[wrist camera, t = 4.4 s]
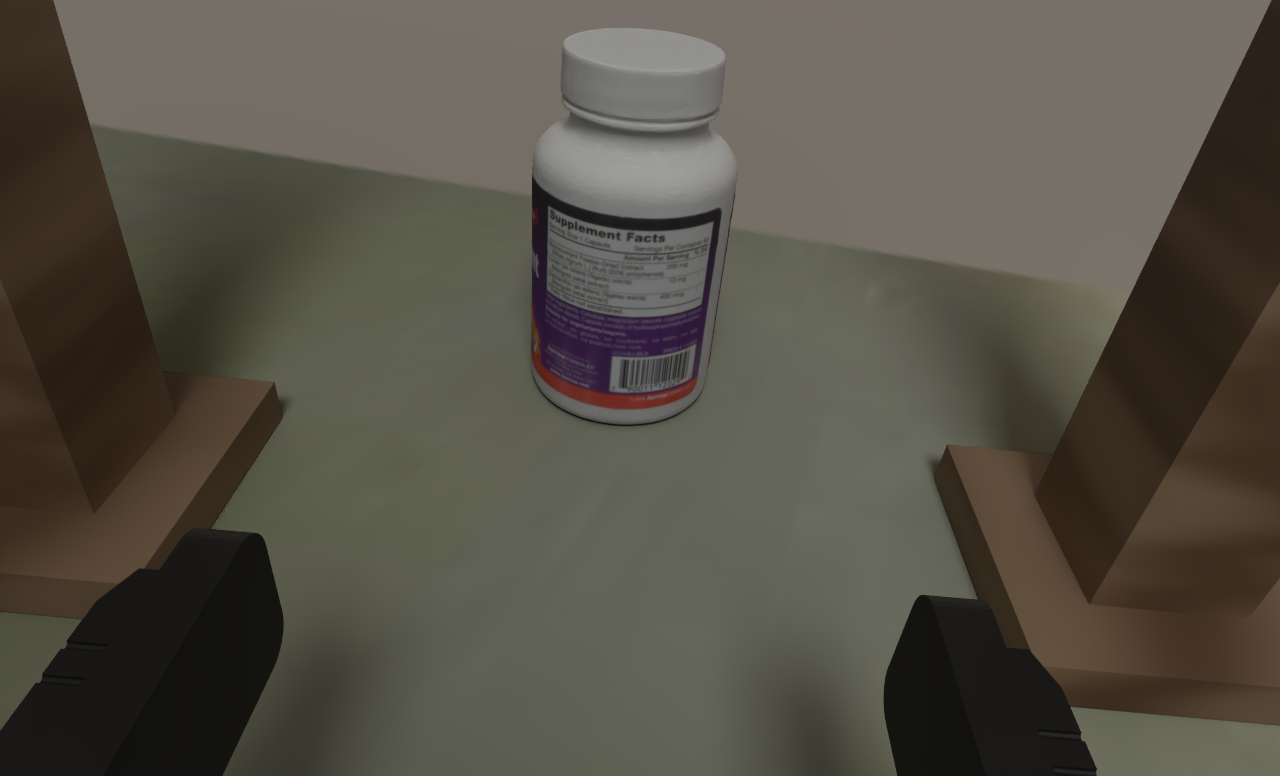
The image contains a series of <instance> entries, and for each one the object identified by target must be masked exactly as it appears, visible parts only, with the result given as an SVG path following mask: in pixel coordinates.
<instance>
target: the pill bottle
mask: <svg viewBox="0 0 1280 776" xmlns="http://www.w3.org/2000/svg"><path fill="white" fill-rule="evenodd" d="M725 62H726V57H725V54H724V52H723V51H722V50H721V49H720V48H719V47H717V46H715V45H713V44H711V43H709V42H707V41H704V40H701V39H698V38H695V37H691V36H687V35H683V34H678V33H673V32H667V31H661V30H650V29H635V28H608V29H595V30H589V31H583V32H579V33H577V34H573V35H571V36H569V37H567V38H566V39H565V41H564V42H563V48H562V68H561V92H562V97H561V98H562V103H563V105H564V107H565V108H566V109H567V110H569V111H570V116H569V117H567V118H565V119H562V120H561V121H559V122H557V123H555V124H554V125H553V126H551V127H550V128H549V129H548V130H547V131H546V132H545V133H544V134H543V135H542V136H541V138H540V139H539V141H538V143H537V145H536V147H535V150H534V155H533V167H532V338H531V353H532V371H533V375H534V378H535V381H536V383H537V385H538V387H539V388H540V390H541V391H542V393H543V394H544V395H545V396H546V397H547V398H548V399H549V400H550V401H551V402H553V403H554V404H555V405H557V406H558V407H560V408H562V409H564V410H565V411H567V412H569V413H572V414H574V415H576V416H579V417H582V418H585V419H589V420H593V421H596V422H602V423H610V424H622V425H632V424H645V423H652V422H656V421H660V420H664V419H667V418H669V417H672V416H674V415H676V414H678V413H679V412H681V411H683V410H684V409H686V408H687V407H688V406H690V405H691V404H692V403H693V402H694V401H695V400H696V399H697V397H698V396H699V395H700V393H701V391H702V389H703V386H704V383H705V379H706V374H707V370H708V365H709V361H710V355H711V347H712V340H713V334H714V327H715V320H716V313H717V307H718V300H719V294H720V288H721V281H722V275H723V269H724V262H725V256H726V250H727V243H728V237H729V230H730V222H731V217H732V212H733V204H734V198H735V188H736V180H737V164H736V159H735V157H734V154H733V152H732V150H731V148H730V147H729V146H728V144H727V143H726V142H725V140H724V139H723V138H722V137H720V136H719V135H718V134H717V133H716V132H714V131H713V130H711V129H709V123H710V122H712V121H713V120H715V118H716V117H717V116H718V114H719V111H720V107H719V106H720V105H721V103H722V94H723V84H724V73H725Z"/></svg>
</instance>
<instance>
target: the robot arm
mask: <svg viewBox="0 0 1280 776" xmlns="http://www.w3.org/2000/svg"><path fill="white" fill-rule="evenodd" d="M283 625H284V621H283V613H282V608H281V604H280V600H279V596H278V592H277V588H276V584H275V580H274V576H273V572H272V568H271V564H270V560H269V555H268V551H267V547H266V544H265V541H264V539H263V537H262V536H261V535H260V534H258V533H249V532H238V531H227V530H216V529H204V528H194V529H191V530H189V531H188V532H187V533H186V534H184V535H183V537H182V538H181V539H180V540H179V542H178V543H177V545H176V546H175V548H174V549H173V551H172V552H171V554H170V555H169V556H168V558H167V559H166V561H165V562H164V564H163V565H162V567H161V568H160V570H154V569H143V568H139V569H137V570H136V571H135V572H133V573H132V574H131V575H130V576H128V577H127V578H126V579H124V580H123V581H122V582H120V583H119V584H118V585H116V586H115V587H114V588H112V589H111V590H110V591H109V592H107V593H106V594H105V595H103V596H102V597H101V598H99V599H98V600H97V601H96V602H95V603H94V605H93V606H92V607H91V609H90V610H89V611H88V613H87V614H86V615H85V617H84V618H83V620H82V621H81V622H80V624H79V625H78V626H77V628H76V629H75V630H74V632H73V633H72V634H71V636H70V637H69V639H68V640H67V646H66V648H65V649H60V651H59V652H58V653H57V655H56V656H55V657H54V659H53V660H52V662H51V663H50V664H49V666H48V667H47V668H46V670H45V671H44V672H43V674H42V675H43V677H42V680H41V682H40V683H35V685H34V686H33V687H32V689H31V690H30V691H29V693H28V694H27V695H26V697H25V698H24V699H23V701H22V702H21V704H20V705H19V706H18V708H17V709H16V710H15V712H14V713H13V714H12V716H11V717H10V718H9V720H8V721H7V723H6V724H5V725H4V727H3V728H2V729H1V731H0V776H222V775H223V773H224V771H225V769H226V767H227V765H228V763H229V761H230V758H231V756H232V754H233V752H234V750H235V748H236V746H237V744H238V742H239V740H240V737H241V735H242V733H243V731H244V729H245V727H246V725H247V723H248V721H249V719H250V716H251V714H252V712H253V710H254V708H255V706H256V704H257V702H258V700H259V698H260V695H261V693H262V691H263V689H264V687H265V685H266V683H267V681H268V679H269V676H270V674H271V672H272V670H273V668H274V666H275V663H276V661H277V658H278V655H279V651H280V648H281V643H282V637H283ZM884 713H885V720H886V726H887V730H888V735H889V739H890V744H891V749H892V753H893V758H894V762H895V767H896V771H897V776H1096V770H1097V768H1096V766H1095V764H1094V761H1093V759H1092V757H1091V754H1090V752H1089V750H1088V747H1087V745H1086V743H1085V741H1082V740H1081V731H1080V729H1079V726H1078V724H1077V722H1076V719H1075V717H1074V715H1073V712H1072V710H1071V708H1070V705H1069V703H1068V701H1067V698H1066V696H1065V693H1064V691H1063V689H1062V688H1061V686H1060V685H1059V684H1058V683H1057V682H1056V681H1055V679H1054V678H1053V677H1052V676H1051V675H1050V674H1049V672H1048V671H1047V670H1046V669H1045V668H1044V666H1043V665H1042V664H1041V663H1040V662H1039V661H1038V659H1037V658H1036V657H1035V656H1034V655H1033V654H1032V652H1031V651H1030V650H1029V649H1017V648H1007V647H1006V645H1005V642H1004V639H1003V637H1002V634H1001V631H1000V629H999V626H998V624H997V621H996V618H995V616H994V613H993V611H992V609H991V608H990V606H989V605H988V604H987V603H986V602H985V601H983V600H974V599H963V598H952V597H941V596H930V595H921V596H919V597H918V598H917V599H916V600H915V602H914V604H913V607H912V609H911V612H910V614H909V617H908V619H907V622H906V624H905V627H904V629H903V632H902V634H901V637H900V639H899V642H898V644H897V647H896V649H895V652H894V654H893V657H892V659H891V662H890V664H889V667H888V670H887V673H886V677H885V684H884Z"/></svg>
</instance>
